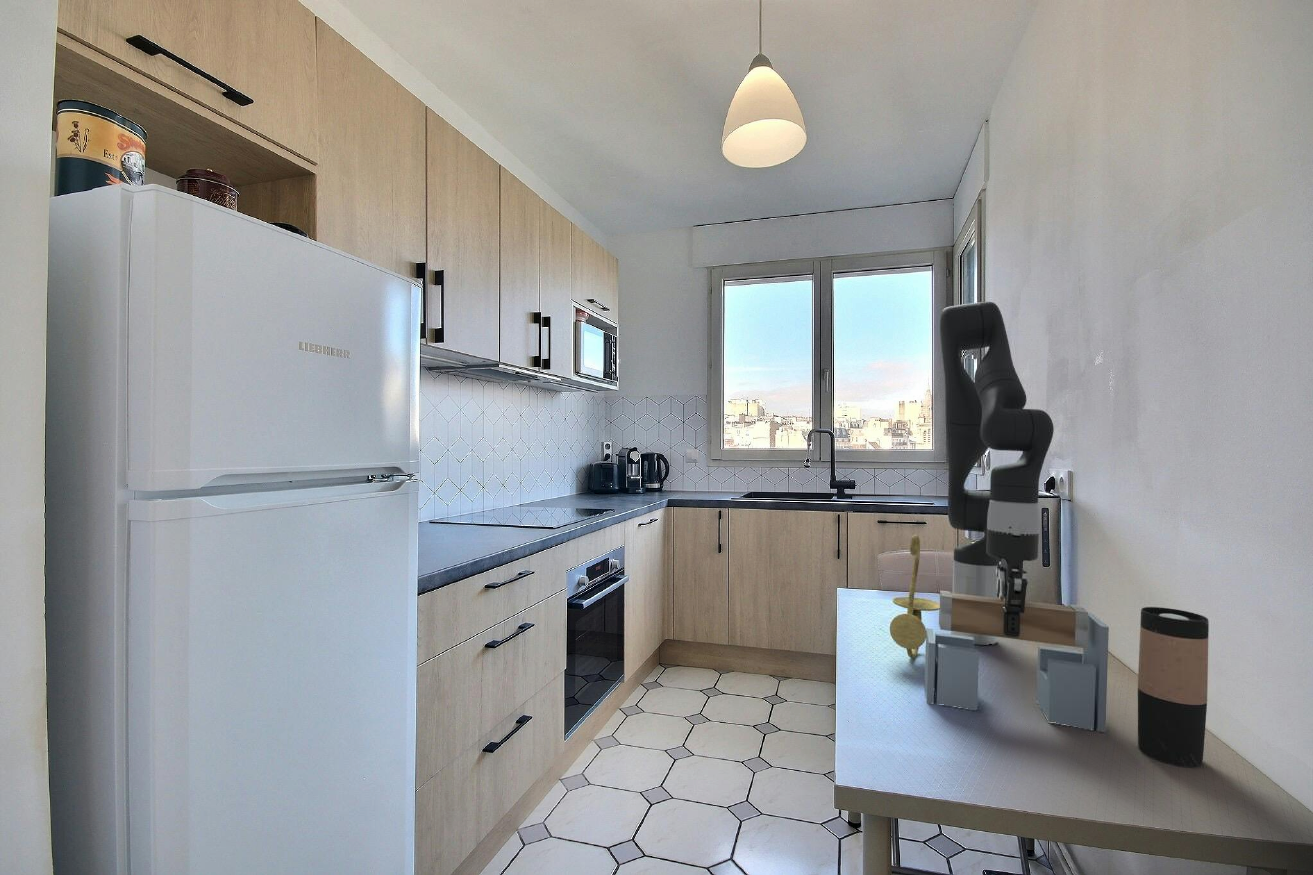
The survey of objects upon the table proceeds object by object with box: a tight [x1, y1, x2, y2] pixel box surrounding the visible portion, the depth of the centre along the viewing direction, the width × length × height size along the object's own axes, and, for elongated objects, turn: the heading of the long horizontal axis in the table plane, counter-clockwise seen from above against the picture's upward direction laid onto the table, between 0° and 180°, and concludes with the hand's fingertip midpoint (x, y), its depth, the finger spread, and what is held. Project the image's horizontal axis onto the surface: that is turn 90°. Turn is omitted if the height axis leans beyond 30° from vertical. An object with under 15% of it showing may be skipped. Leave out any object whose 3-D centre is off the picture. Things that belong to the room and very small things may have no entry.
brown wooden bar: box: [938, 590, 1088, 649], centre depth 105 cm, size 4×21×6 cm, turn 69°
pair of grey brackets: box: [924, 611, 1110, 733], centre depth 105 cm, size 9×25×16 cm, turn 69°
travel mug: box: [1137, 606, 1210, 768], centre depth 90 cm, size 8×8×20 cm
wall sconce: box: [889, 534, 940, 659], centre depth 128 cm, size 14×10×25 cm
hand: (1009, 631), depth 105 cm, fingers closed on brown wooden bar, 4 cm apart
